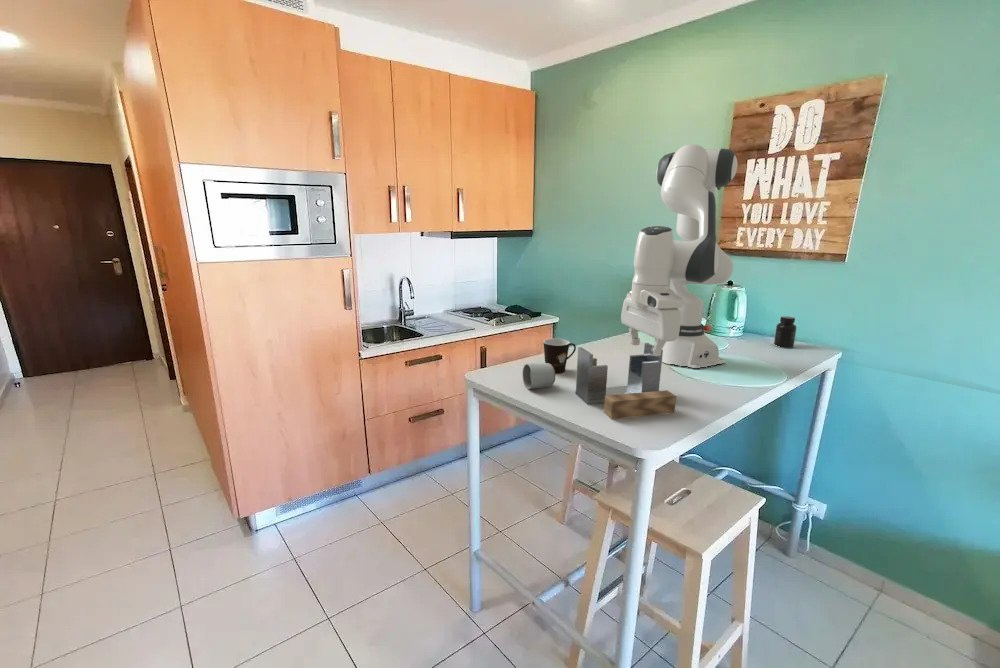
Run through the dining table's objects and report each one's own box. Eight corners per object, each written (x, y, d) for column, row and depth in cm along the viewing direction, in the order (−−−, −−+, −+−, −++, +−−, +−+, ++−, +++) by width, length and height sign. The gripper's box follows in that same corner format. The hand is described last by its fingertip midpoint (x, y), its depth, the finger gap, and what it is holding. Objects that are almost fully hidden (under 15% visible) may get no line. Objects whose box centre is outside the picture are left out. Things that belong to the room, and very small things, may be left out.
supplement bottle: (787, 344, 178) (792, 315, 175) (796, 348, 171) (802, 319, 168) (770, 343, 179) (774, 315, 176) (778, 348, 172) (783, 319, 169)
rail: (665, 407, 116) (667, 390, 115) (674, 413, 112) (676, 395, 111) (603, 413, 112) (605, 395, 111) (610, 420, 109) (612, 401, 107)
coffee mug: (544, 375, 140) (545, 345, 138) (540, 366, 148) (541, 338, 146) (579, 374, 140) (581, 345, 138) (574, 366, 149) (575, 338, 146)
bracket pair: (643, 387, 130) (647, 342, 126) (658, 397, 122) (663, 350, 119) (575, 393, 125) (577, 347, 121) (587, 404, 117) (590, 355, 114)
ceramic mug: (556, 389, 128) (557, 364, 126) (531, 393, 125) (532, 367, 123) (541, 378, 138) (541, 355, 136) (517, 381, 135) (517, 357, 133)
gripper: (617, 289, 114) (613, 339, 117) (663, 302, 94) (657, 362, 98) (638, 288, 115) (634, 338, 119) (688, 301, 96) (681, 360, 99)
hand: (644, 349), depth 108 cm, fingers open, 8 cm apart
